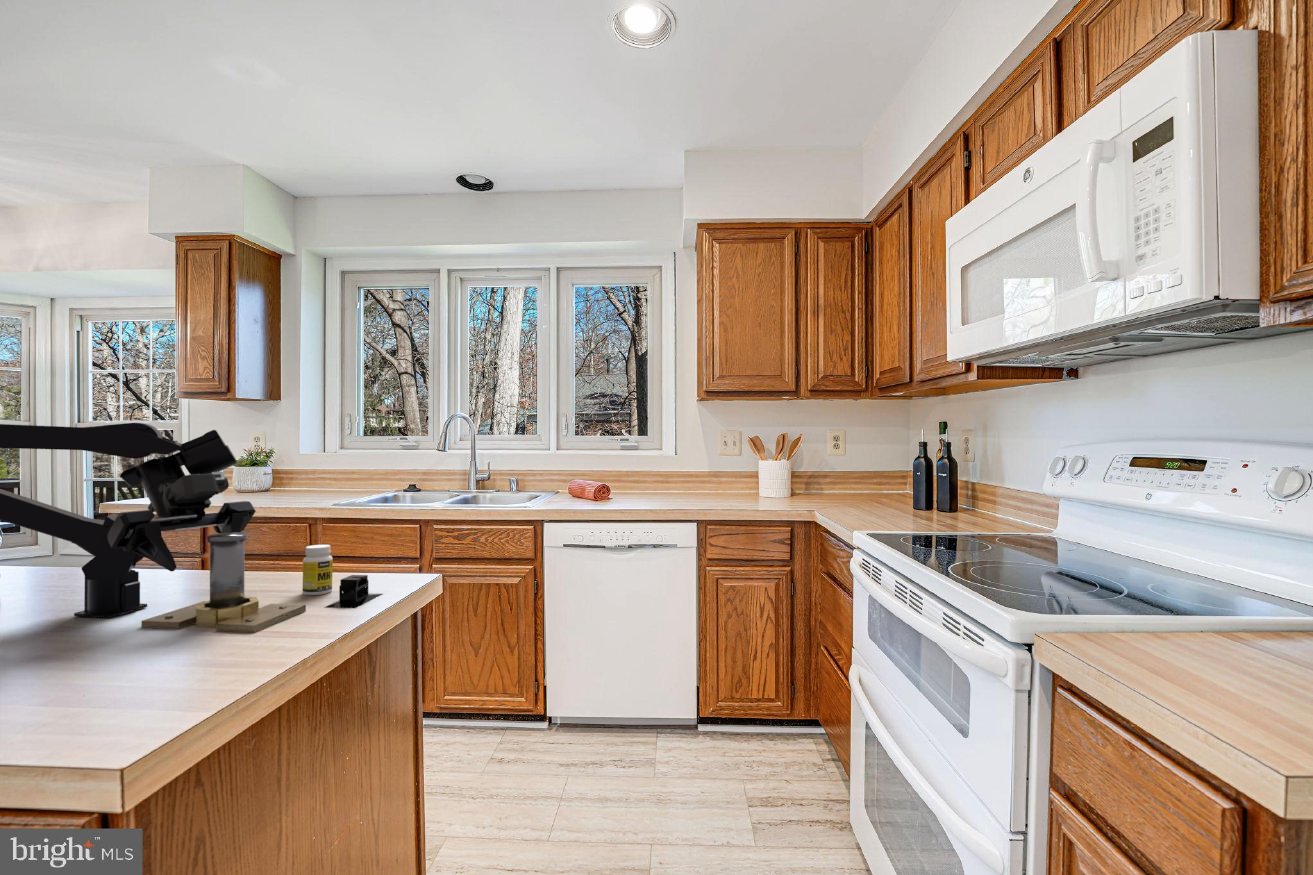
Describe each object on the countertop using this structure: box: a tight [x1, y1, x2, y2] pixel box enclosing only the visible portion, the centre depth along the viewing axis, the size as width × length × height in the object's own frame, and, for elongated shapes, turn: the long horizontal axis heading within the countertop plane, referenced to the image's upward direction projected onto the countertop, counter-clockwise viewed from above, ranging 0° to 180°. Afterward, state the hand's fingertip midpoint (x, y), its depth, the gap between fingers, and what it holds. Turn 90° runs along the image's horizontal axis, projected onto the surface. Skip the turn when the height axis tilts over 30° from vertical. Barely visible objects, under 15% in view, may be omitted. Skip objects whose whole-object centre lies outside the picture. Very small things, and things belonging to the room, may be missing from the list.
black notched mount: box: [323, 574, 383, 609], centre depth 107 cm, size 12×7×5 cm, turn 177°
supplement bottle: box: [302, 544, 333, 596], centre depth 112 cm, size 5×5×8 cm
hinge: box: [140, 595, 307, 633], centre depth 95 cm, size 18×11×2 cm, turn 84°
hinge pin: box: [206, 531, 249, 608], centre depth 95 cm, size 5×5×13 cm
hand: (207, 563), depth 96 cm, fingers open, 9 cm apart
